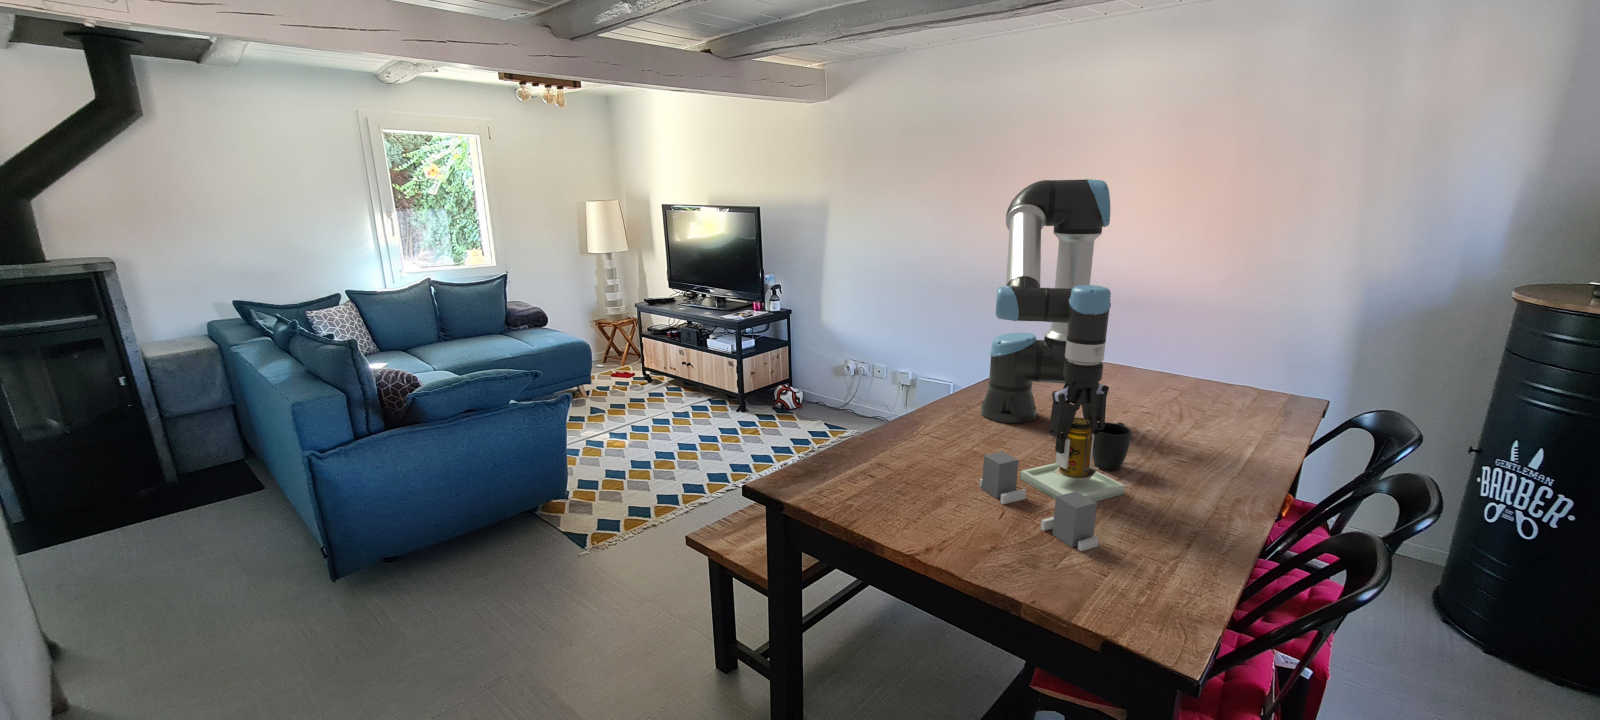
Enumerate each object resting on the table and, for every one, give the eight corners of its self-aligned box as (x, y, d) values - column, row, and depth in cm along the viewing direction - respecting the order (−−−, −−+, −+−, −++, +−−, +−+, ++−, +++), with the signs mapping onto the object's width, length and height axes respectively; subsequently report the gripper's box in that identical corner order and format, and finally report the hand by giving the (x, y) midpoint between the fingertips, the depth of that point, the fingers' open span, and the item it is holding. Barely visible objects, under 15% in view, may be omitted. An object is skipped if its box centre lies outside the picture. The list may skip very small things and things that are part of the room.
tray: (1020, 478, 148) (1020, 470, 148) (1071, 467, 154) (1072, 459, 153) (1070, 508, 135) (1071, 499, 135) (1124, 493, 141) (1125, 485, 140)
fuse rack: (975, 486, 145) (977, 452, 143) (997, 481, 147) (999, 448, 145) (1076, 552, 119) (1081, 512, 117) (1101, 545, 121) (1106, 505, 119)
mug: (1137, 461, 157) (1142, 423, 154) (1119, 477, 148) (1123, 438, 146) (1101, 451, 162) (1105, 415, 160) (1082, 467, 154) (1086, 429, 151)
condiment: (1051, 473, 143) (1056, 421, 140) (1065, 460, 149) (1070, 411, 146) (1086, 482, 138) (1092, 429, 135) (1099, 469, 145) (1104, 418, 141)
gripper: (1062, 370, 130) (1052, 478, 136) (1132, 359, 137) (1119, 462, 143) (1035, 361, 137) (1026, 464, 143) (1103, 351, 144) (1092, 450, 150)
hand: (1073, 463), depth 143 cm, fingers closed on condiment, 6 cm apart
